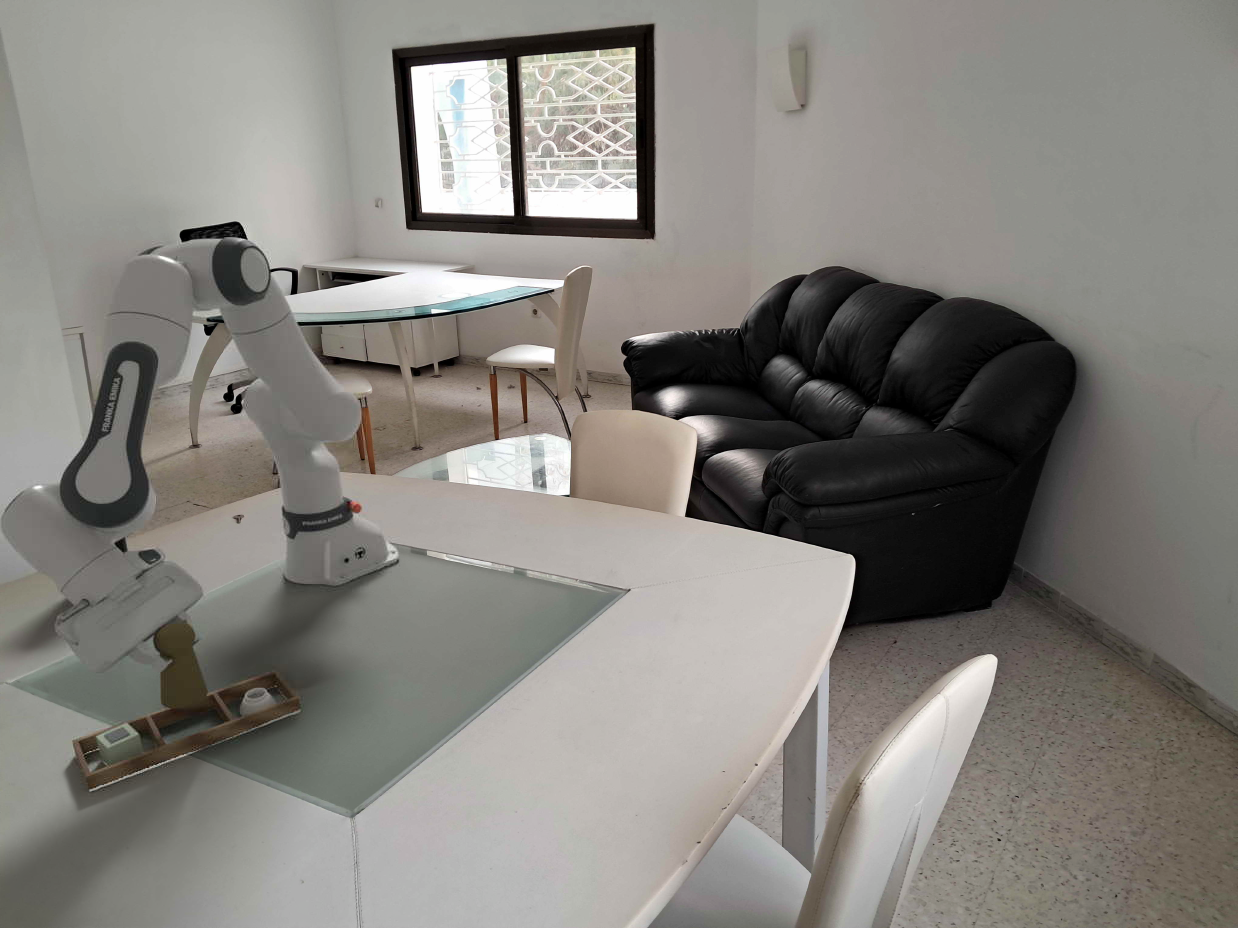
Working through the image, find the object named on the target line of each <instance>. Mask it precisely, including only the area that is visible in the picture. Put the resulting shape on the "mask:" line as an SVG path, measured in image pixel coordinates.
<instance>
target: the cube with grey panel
mask: <svg viewBox="0 0 1238 928" xmlns="http://www.w3.org/2000/svg"><path fill="white" fill-rule="evenodd" d="M140 736H141V735H139V734H138V733H137V732H136V731H135V730H134V729H133V728H132V727H131V726H130V725H129V724H128V723H125V724H122V725H120V726H118V727H116V728H113V729H111V730H109V731H107V732H104V733H102V734H100V735H98V736H96V740H97V744H98V748H99V750H98V752H99V756H100V757H99V758H100V760H101V759H102V760H103V761H104V762H105V763H106V764H107V765H108V766H110V765H113V764H115V763H118V762H121V761H123V760H126V759H129V758H131V757H134V756H137V755H139V754H142V753H144V751H143V747H142V743H141V742H142V741H141V738H140ZM102 760H101V761H102ZM103 761H102V762H103Z"/></svg>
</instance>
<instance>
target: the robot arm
mask: <svg viewBox="0 0 1238 928" xmlns="http://www.w3.org/2000/svg"><path fill="white" fill-rule="evenodd" d="M270 267H271V266H270V264H269V261H268V259H267V257H266V254H265V253H264V252H263V251H262V249H260V248H259V247H258V246H257V245H256V244H255V243H254V242H252V241H251V240H249V239H245V238H239V237H224V238H199V239H191V240H188V241H183V242H178V243H173V244H169V245H157V246H153V247H150V248H148V249H146V250H143V251H142V252H140V253H139V254H138V255H137V256H135V257H133V258H131V259H130V260H129V261H128V262H127V263H125V265H124V267H123V269H122V272H121V273H120V276H119V278H118V279H117V283H116V285H115V288H114V290H113V293H112V297H111V300H110V304H109V307H108V312H107V315H106V319H105V326H104V332H103V339H102V340H103V341H102V373H101V374H102V375H101V382H100V388H99V391H98V395H97V399H96V402H95V407H94V409H93V410H94V411H93V414H92V419H91V423H90V427H89V431H88V434H87V437H86V439H85V441H84V443H83V445H82V446H81V448H80V449H79V451H78V452H77V454H76V455H75V456H74V457H73V459H72V460H71V461H70V462H69V464H68V465H67V466H66V468H65V469H64V472H63V473H62V476H61V479H60V482H54V483H48V484H38V483H36V484H34V485H31V486H30V487H28V488H26V489H25V490H23V491H21V492H20V493H19V494H17V495H16V496H15V497H14V498H13V499H12V500H11V502H10V503H9V504H8V505H7V507H6V508H5V510H4V512H3V514H2V516H1V518H0V530H1V533H2V535H3V537H4V539H6V541H7V542H8V544H9V545H10V546H11V547H12V548H13V549H14V550H15V552H16V553H18V554H19V555H20V557H21V558H22V559H23V560H24V561H25V562H26V563H27V564H29V565H30V566H31V567H32V568H33V569H34V570H35V572H37V573H40V574H41V575H44V576H46V577H47V578H48V579H50V580H51V581H52V582H53V584H54V585H55V587H56V589H57V591H58V592H59V593H60V594H61V595H62V596H63V597H64V598H65V599H66V600H68V601H69V602H70V603H71V604H72V607H70V608H69V609H68V610H65V611H63V612H61V613H59V614H58V616H57V617H56V621H55V623H54V631H55V633H56V634H57V636H59V637H60V638H61V639H63V641H64V642H65V643H66V645H67V646H68V647H69V648H70V649H71V651H72V652H73V654H74V655H75V656H76V658H78V660H80V662H81V663H82V664H83V665H84V666H85V667H86V668H87V669H88V670H89V671H91V672H92V673H97V674H100V675H101V674H105V673H106V672H108V671H109V669H111V668H112V667H114V666H115V665H116V664H118V663H119V662H120V661H122V660H123V659H124V658H126V657H127V656H128V657H129V658H131V660H132V661H134V662H138V663H141V664H144V665H148V666H151V667H152V668H153V669H154V670H155V671H157V672H158V673H160V672H162V671H163V670H164V669H165V668H167V667H168V666H169V665H170V664H171V663H172V659H171V658H170V657H168V656H167V654H165V653H164V652H163V653H162V654H160V653H156V652H154V651H151V650H148V648H149V645H148V644H146V642H147V641H149V640H150V639H152V637H154V635H155V633H156V631H157V630H158V629H159V628H161V627H163V626H165V625H167V624H171V623H177V622H180V623H187V624H189V625H190V626H191V627H192V628H193V630H194V632H195V642H194V644H193V647H194V646H195V645H196V644H198V642H199V641H201V639H202V636H201V635H200V634H199V633H198V632H197V631H196V630H195V629H194V626H193V623H192V620H191V617H190V615H189V614H188V613H187V611H189V610H190V609H191V608H193V607H194V606H195V605H196V604H197V603H198V602H199V601H200V600H201V599H202V597H203V596H204V591H203V587H202V585H201V584H200V583H199V582H198V580H196V579H195V578H194V577H193V576H192V574H190V573H189V572H188V571H186V570H185V569H184V568H183V567H181V566H180V565H179V564H178V563H176V562H174V561H171V560H165V559H166V557H167V555H166V553H165V551H164V550H162V548H160V547H157V546H154V547H149V548H143V549H138V550H128V551H127V552H124V553H123V552H122V551H121V550H120V549H118V548H117V547H116V546H115V545H114V543H115V542H117V541H119V540H121V539H123V538H125V539H126V537H128V536H131V534H133V533H135V532H137V531H139V530H141V529H142V528H144V527H145V526H146V525H147V524H148V523H149V522H150V520H151V519H152V518H153V517H154V515H155V513H156V510H157V506H158V498H157V492H156V491H155V488H154V487H153V485H152V483H151V481H150V480H149V477H148V473H147V471H146V467H145V466H144V462H143V456H142V449H143V448H142V446H143V442H144V437H145V434H146V433H145V432H146V429H147V423H148V421H149V419H148V418H149V415H150V414H149V413H150V410H151V406H152V405H151V404H152V401H153V398H154V397H155V396H154V395H155V394H156V392H157V390H158V389H160V387H162V386H165V385H167V384H170V383H171V382H172V381H174V380H175V379H177V377H178V376H179V374H180V372H181V369H182V366H183V364H184V361H185V358H186V357H187V352H188V349H189V344H190V339H191V331H192V326H193V314H194V312H208V311H209V312H210V311H212V310H218V309H219V313H220V314H221V317H222V319H223V321H224V323H225V326H226V328H227V330H228V333H229V334H230V336H231V338H232V340H233V342H234V344H235V346H236V348H237V350H238V352H239V354H240V356H241V358H242V360H243V362H244V364H245V366H246V368H247V369H248V370H249V371H250V372H251V373H252V374H253V375H254V376H256V377H257V379H256V380H254V381H253V382H251V383H250V384H249V385H248V387H247V389H246V391H245V393H244V398H243V406H244V407H243V408H244V411H245V414H246V416H247V417H248V419H249V420H250V421H251V422H252V423H254V425H255V426H256V427H257V428H258V430H259V431H260V433H261V435H262V437H263V438H264V441H265V442H266V444H267V447H268V449H269V450H270V453H271V456H272V458H273V460H274V462H275V466H276V468H277V472H278V473H277V474H278V477H279V484H280V489H281V496H282V498H281V499H282V503H283V505H282V506H281V515H282V516H281V522H282V527H283V532H284V535H285V537H286V544H285V545H286V549H285V550H286V552H285V554H286V555H285V562H284V568H283V576H284V578H285V579H286V580H287V581H290V582H292V583H295V584H301V585H328V586H334V587H335V586H336V587H338V586H341V584H342V585H344V584H346V583H345V582H347V581H349V580H352V579H354V578H356V577H358V576H361V577H363V576H362V575H363V574H366V573H368V572H371V571H373V570H375V569H378V568H380V567H382V566H385V565H387V564H390V563H392V562H394V561H396V560H398V559H399V560H400V555H399V551H398V549H397V548H396V546H394V545H393V544H392V543H390V542H389V541H387V540H386V538H385V535H384V533H383V531H382V530H381V529H380V527H379V526H378V525H376V524H375V523H373V522H372V521H370V520H368V519H366V518H364V517H363V516H360V515H358V514H360V513H361V511H362V510H363V509H362V508H363V506H362V504H360V503H358V502H357V501H354V500H352V499H350V498H348V497H346V496H343V490H342V481H341V470H340V465H339V463H338V460H337V459H336V457H335V456H334V455H333V454H332V453H331V452H330V451H329V449H328V448H327V447H326V444H325V443H328V444H329V443H342V442H346V441H348V440H349V439H351V438H352V437H353V436H354V435H355V434H356V432H358V429H359V428H360V425H361V422H362V416H363V415H362V414H363V413H362V406H361V404H360V400H358V398H357V397H356V395H354V394H353V393H352V392H350V391H349V390H347V389H346V388H345V387H344V386H343V385H341V384H340V383H339V382H338V380H336V379H335V377H334V376H332V374H331V373H330V372H329V370H328V369H327V368H326V366H324V365H323V364H322V362H321V361H320V360H319V358H318V357H317V356H316V354H315V353H314V351H312V349H311V347H310V346H309V344H308V343H307V341H306V338H305V336H304V335H303V332H302V330H301V329H300V327H299V323H298V321H297V320H296V318H295V316H294V313H293V311H292V309H291V307H290V304H289V303H288V300H287V298H286V296H285V294H284V292H283V290H282V289H281V287H280V285H279V284H278V283H277V281H276V279H275V277H274V276H273V274H272V273H271V268H270ZM378 570H379V569H378ZM371 573H372V572H371ZM366 575H367V574H366ZM356 579H357V578H356ZM354 580H355V579H354ZM352 581H353V580H352ZM349 582H350V581H349ZM343 583H344V584H343ZM347 583H348V582H347ZM337 585H338V586H337Z"/></svg>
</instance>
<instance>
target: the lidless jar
mask: <svg viewBox="0 0 1238 928" xmlns="http://www.w3.org/2000/svg"><path fill="white" fill-rule="evenodd" d="M274 704H277V703H276V700H275V697H273V696H272V694H270V693H269V692H268V690H266V689H264V688H254V689H251V690H249V691H248V692H247V693H246V694H245V697H244V698H242V701H241V704H240V705H239V709H238V710H239V713H240V716H241V717H242V716H245V715H247V714H250V713H253V712H256V711H258V710H261V709H264V708H266V707H269V706H272V705H274Z"/></svg>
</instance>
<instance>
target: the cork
mask: <svg viewBox="0 0 1238 928" xmlns="http://www.w3.org/2000/svg"><path fill="white" fill-rule="evenodd" d="M193 629H194V627H193V628H192V627H191V626H190V625H189V624H187V623H180V622H177V623H171V624H167V625H165V626H163V627H161V628H159V629H158V630H157V631H156V633H155V635H154V636H153V639H152V643H153V647H154V650H155V651H157V652H158V654H159V655H160V654H162V653H163V652H164V653H165V654H167V656H168V657H170V658H171V659H172V663H171V664H170V665H169V666H168V667H167V668H165V669H164V670H163V671H162V672H159V673H160V674H159V675H160V676H159V678H160V681H159V683H160V703H161V704H160V705H162V706H163V707H165V708H173V709H178V708H185V707H188V706H192V705H194V704H196V703H198V702H200V701H201V700H203V699H204V698H205V697H206V695H207V694H208V693H209V690H208V687H207V684H206V681H205V679H204V675H203V672H202V669H201V667H200V663H199V661H198V658H197V655H196V653H195V649H194V646H193V644H194V642H195V632H194V630H195V629H194V630H193Z"/></svg>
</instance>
